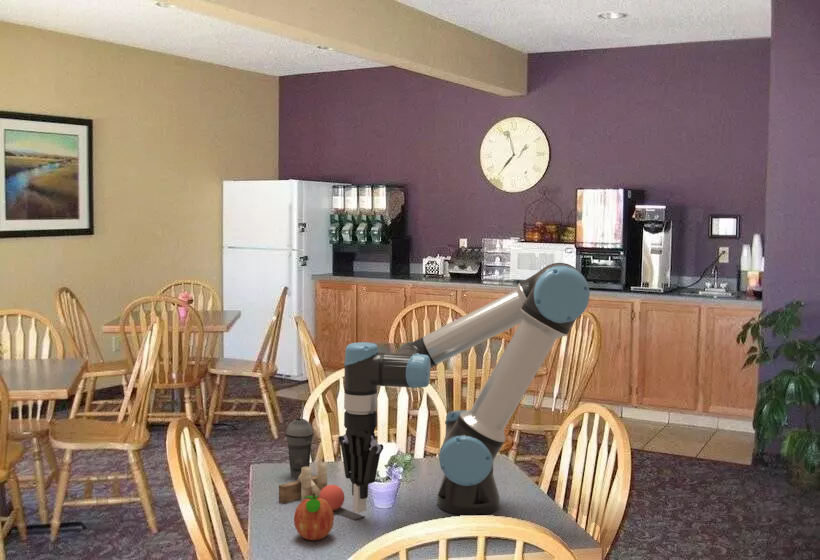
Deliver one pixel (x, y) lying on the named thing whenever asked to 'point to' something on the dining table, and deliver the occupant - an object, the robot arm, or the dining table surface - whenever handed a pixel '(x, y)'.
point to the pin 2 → (321, 475)
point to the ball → (332, 496)
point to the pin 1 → (305, 482)
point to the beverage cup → (299, 444)
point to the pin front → (312, 487)
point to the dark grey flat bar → (348, 514)
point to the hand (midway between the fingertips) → (359, 510)
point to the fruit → (313, 518)
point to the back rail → (292, 490)
